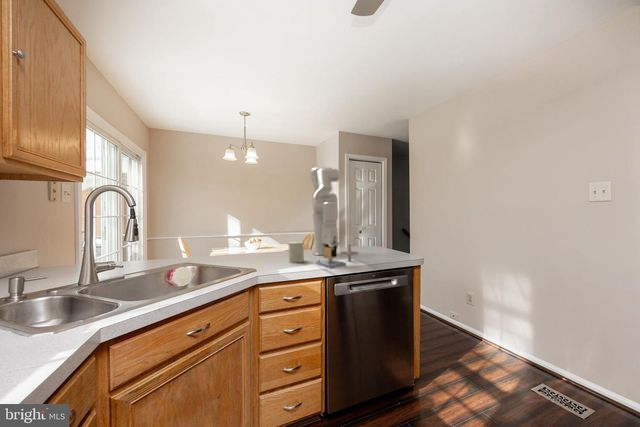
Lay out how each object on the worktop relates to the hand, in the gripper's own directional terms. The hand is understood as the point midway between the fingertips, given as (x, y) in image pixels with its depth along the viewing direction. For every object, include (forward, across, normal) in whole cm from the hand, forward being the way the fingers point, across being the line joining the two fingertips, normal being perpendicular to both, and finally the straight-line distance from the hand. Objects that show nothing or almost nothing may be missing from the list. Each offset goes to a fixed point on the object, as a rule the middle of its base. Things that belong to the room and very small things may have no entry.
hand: (330, 255), depth 153 cm
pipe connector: (+5, -2, +15) cm, 16 cm away
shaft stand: (+5, 0, 0) cm, 5 cm away
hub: (+1, 0, 0) cm, 1 cm away
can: (+5, -21, -11) cm, 24 cm away
